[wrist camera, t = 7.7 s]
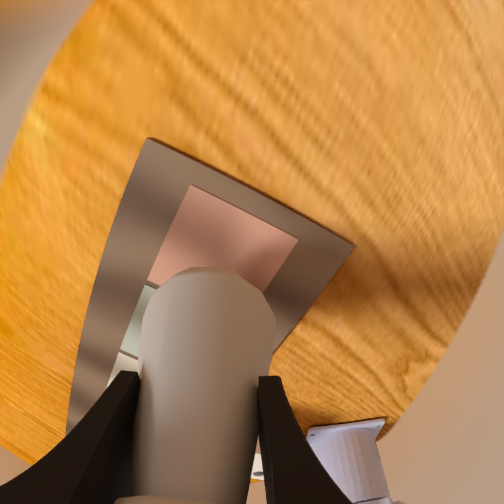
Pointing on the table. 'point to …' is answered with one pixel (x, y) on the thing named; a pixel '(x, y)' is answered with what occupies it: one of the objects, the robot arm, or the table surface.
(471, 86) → the table surface
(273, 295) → the game board
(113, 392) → the robot arm
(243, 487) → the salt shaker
